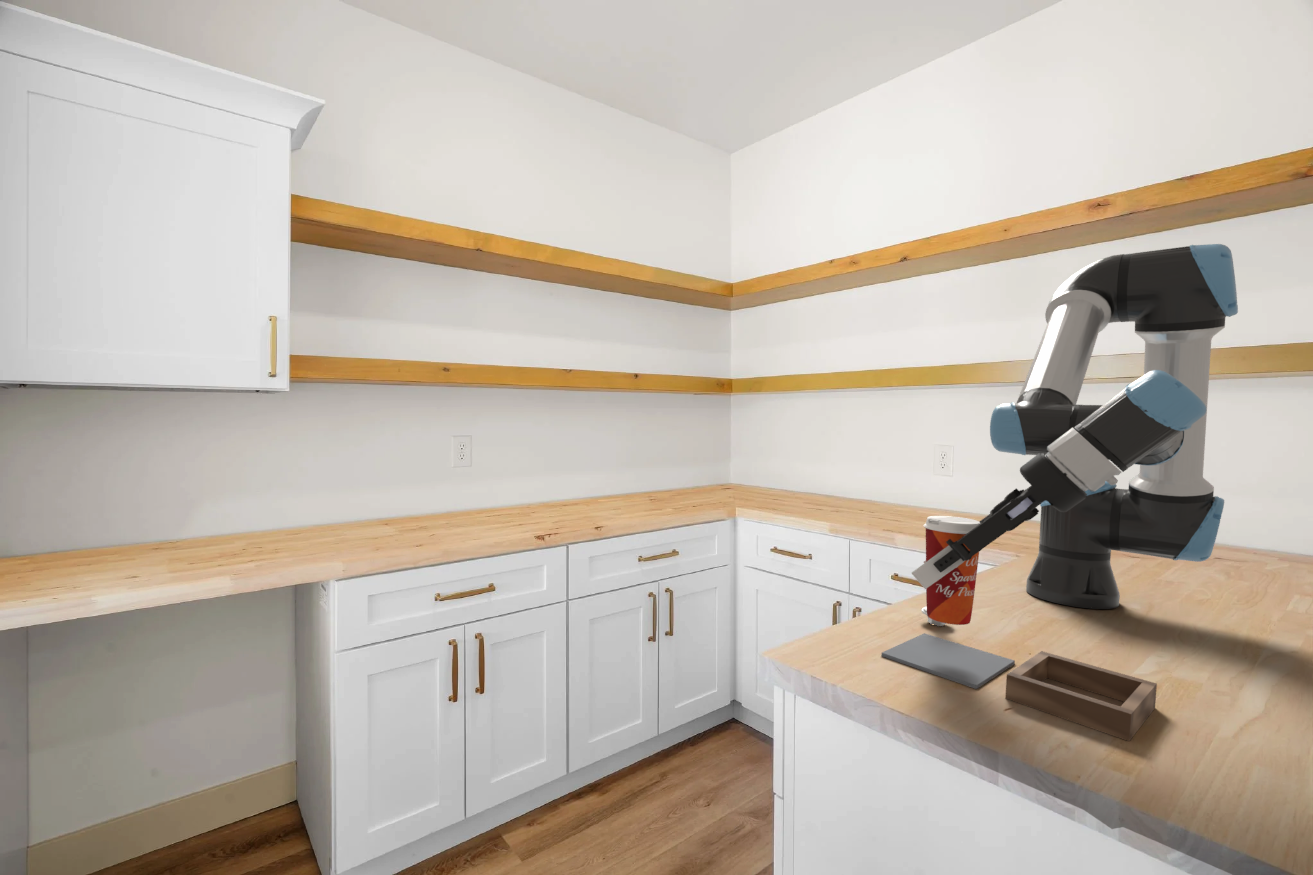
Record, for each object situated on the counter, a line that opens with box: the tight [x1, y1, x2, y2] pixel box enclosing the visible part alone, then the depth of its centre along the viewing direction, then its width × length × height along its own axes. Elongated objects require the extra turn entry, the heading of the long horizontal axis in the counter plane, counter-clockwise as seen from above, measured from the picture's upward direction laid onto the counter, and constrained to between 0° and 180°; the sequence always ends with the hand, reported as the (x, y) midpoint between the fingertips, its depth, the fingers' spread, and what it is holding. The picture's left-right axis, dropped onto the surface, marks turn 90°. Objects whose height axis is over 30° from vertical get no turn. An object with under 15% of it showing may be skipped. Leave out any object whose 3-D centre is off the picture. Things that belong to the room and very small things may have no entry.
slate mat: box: [881, 632, 1016, 690], centre depth 87 cm, size 13×13×1 cm
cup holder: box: [1004, 650, 1158, 742], centre depth 75 cm, size 12×12×3 cm
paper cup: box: [923, 515, 980, 626], centre depth 86 cm, size 8×8×14 cm
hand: (924, 574), depth 88 cm, fingers closed on paper cup, 8 cm apart
